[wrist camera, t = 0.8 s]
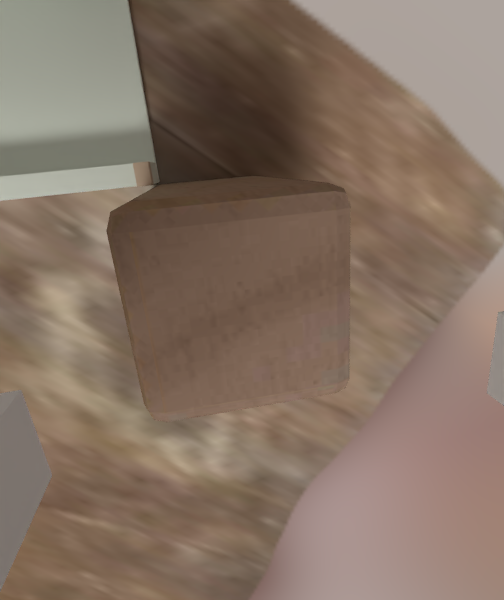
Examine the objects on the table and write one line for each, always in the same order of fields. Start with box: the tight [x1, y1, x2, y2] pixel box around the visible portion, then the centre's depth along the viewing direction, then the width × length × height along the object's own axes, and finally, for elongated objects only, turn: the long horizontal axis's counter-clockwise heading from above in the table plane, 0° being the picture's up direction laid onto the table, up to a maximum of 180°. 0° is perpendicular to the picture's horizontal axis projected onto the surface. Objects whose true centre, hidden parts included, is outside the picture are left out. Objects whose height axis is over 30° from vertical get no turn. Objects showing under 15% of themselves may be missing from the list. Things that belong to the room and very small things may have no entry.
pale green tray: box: [0, 0, 160, 201], centre depth 25 cm, size 16×16×7 cm
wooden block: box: [107, 176, 351, 422], centre depth 25 cm, size 10×10×20 cm
